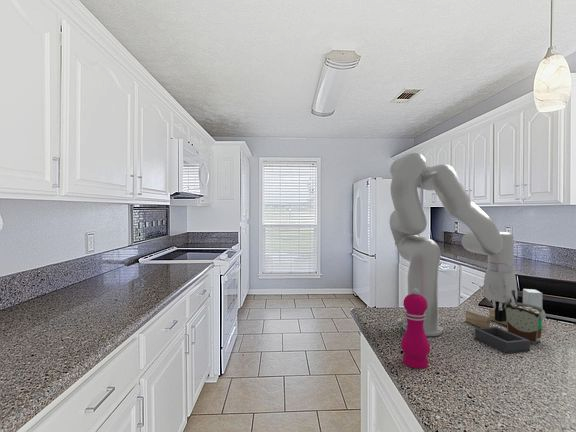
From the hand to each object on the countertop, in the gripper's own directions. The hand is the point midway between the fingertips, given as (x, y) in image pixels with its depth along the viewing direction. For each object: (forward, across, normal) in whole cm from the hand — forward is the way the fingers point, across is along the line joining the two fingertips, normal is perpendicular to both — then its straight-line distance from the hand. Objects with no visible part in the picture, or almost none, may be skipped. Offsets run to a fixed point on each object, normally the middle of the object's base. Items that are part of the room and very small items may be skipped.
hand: (500, 320), depth 116 cm
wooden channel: (+3, -4, 0) cm, 5 cm away
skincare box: (+3, -1, +15) cm, 15 cm away
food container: (+3, +9, +2) cm, 9 cm away
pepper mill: (+3, +17, -44) cm, 48 cm away
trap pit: (+3, +12, -11) cm, 16 cm away
